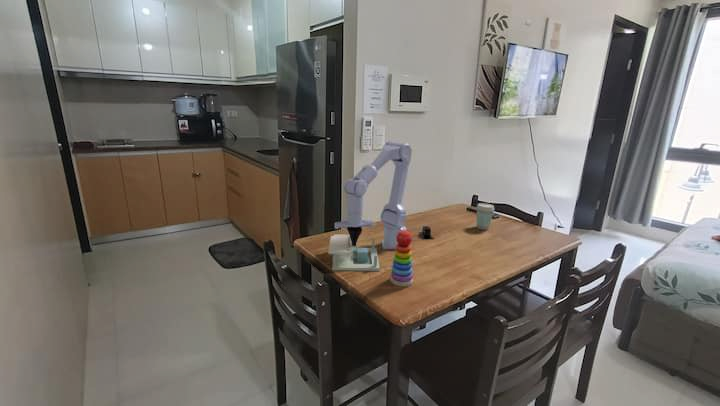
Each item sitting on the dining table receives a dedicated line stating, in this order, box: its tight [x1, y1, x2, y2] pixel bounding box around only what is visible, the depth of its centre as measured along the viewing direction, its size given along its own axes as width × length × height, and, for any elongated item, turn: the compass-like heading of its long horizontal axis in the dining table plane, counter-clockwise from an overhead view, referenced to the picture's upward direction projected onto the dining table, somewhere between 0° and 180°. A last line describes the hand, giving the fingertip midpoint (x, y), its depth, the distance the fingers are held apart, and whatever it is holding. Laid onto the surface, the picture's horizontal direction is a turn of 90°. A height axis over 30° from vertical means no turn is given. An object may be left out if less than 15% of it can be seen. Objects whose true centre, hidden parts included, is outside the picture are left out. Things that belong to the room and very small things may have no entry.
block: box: [357, 247, 369, 262], centre depth 130 cm, size 4×4×4 cm
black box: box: [418, 225, 435, 240], centre depth 158 cm, size 12×7×5 cm, turn 4°
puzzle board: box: [331, 238, 381, 272], centre depth 130 cm, size 17×18×6 cm
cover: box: [327, 235, 351, 255], centre depth 129 cm, size 8×15×1 cm, turn 1°
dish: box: [333, 234, 358, 248], centre depth 147 cm, size 10×10×2 cm
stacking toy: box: [389, 230, 414, 288], centre depth 113 cm, size 8×8×19 cm
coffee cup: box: [476, 202, 495, 231], centre depth 169 cm, size 8×8×12 cm
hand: (353, 245), depth 129 cm, fingers closed
